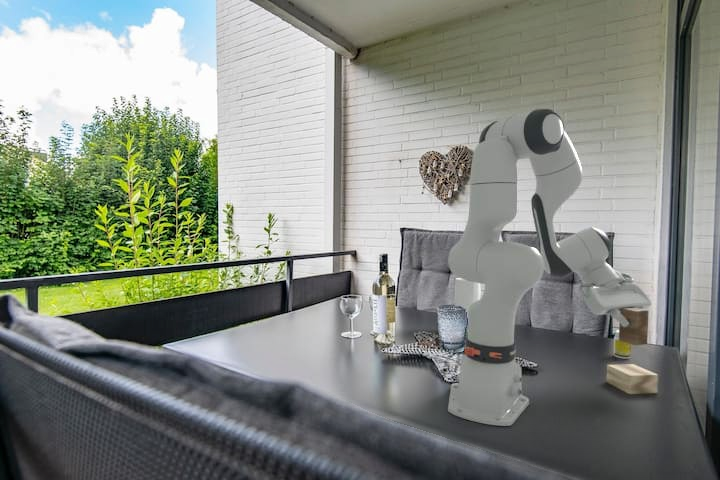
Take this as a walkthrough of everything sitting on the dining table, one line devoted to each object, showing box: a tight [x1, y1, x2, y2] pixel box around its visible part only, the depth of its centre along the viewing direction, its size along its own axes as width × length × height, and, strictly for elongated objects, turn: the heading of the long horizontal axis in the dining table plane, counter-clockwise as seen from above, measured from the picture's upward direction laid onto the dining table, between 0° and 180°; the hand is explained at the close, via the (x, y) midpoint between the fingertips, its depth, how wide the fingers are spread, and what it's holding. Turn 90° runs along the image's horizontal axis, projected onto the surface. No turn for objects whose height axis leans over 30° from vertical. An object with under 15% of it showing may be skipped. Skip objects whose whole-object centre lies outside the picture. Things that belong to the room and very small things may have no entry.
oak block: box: [606, 363, 659, 395], centre depth 107 cm, size 8×8×5 cm
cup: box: [454, 277, 482, 318], centre depth 159 cm, size 10×10×22 cm
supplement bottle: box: [612, 330, 632, 360], centre depth 132 cm, size 5×5×8 cm
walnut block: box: [619, 307, 650, 346], centre depth 106 cm, size 4×4×9 cm
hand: (635, 324), depth 106 cm, fingers closed on walnut block, 4 cm apart
